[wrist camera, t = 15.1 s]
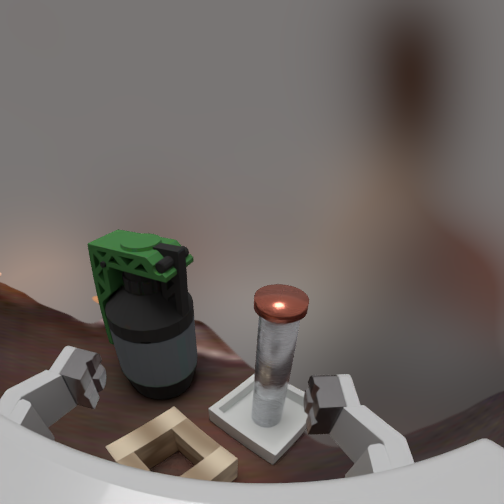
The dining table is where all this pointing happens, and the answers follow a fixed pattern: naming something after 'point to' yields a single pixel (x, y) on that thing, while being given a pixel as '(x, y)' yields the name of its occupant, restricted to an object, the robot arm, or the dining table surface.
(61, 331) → the dining table surface
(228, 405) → the tray
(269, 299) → the pin
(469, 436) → the dining table surface
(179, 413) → the block
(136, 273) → the grenade
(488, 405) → the dining table surface
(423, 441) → the dining table surface
